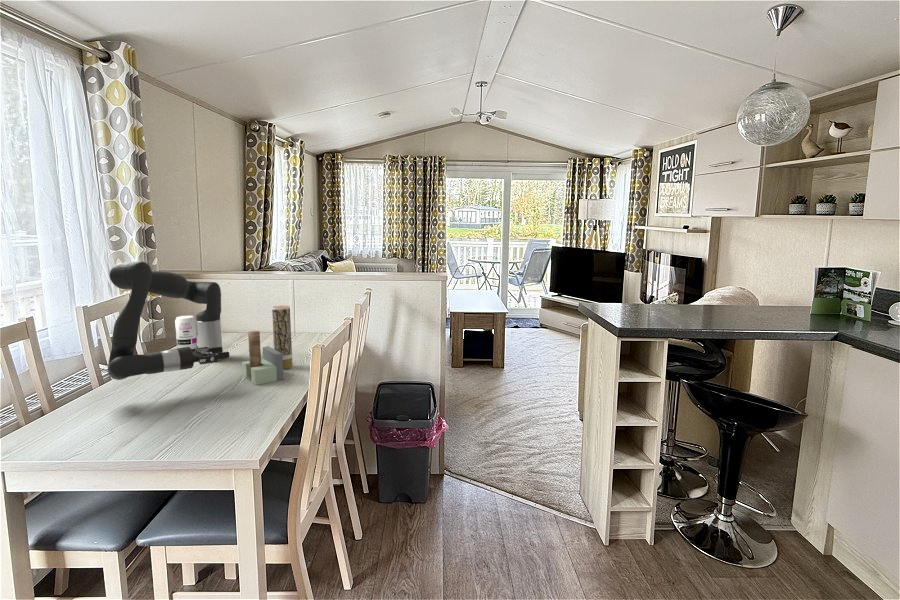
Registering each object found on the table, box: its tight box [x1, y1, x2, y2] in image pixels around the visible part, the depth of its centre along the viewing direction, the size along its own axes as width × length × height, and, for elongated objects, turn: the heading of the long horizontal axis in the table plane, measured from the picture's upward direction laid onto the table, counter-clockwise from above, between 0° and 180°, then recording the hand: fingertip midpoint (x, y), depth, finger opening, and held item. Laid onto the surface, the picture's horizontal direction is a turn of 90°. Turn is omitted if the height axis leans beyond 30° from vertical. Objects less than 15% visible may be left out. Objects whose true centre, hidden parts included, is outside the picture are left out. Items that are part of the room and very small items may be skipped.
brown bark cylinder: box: [271, 304, 293, 370], centre depth 213 cm, size 7×7×25 cm
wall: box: [262, 345, 284, 382], centre depth 204 cm, size 14×2×10 cm, turn 39°
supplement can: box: [174, 315, 198, 349], centre depth 241 cm, size 8×8×15 cm
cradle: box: [241, 357, 277, 386], centre depth 201 cm, size 14×8×6 cm, turn 39°
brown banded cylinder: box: [247, 330, 262, 375], centre depth 199 cm, size 4×4×18 cm
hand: (225, 351), depth 193 cm, fingers open, 8 cm apart
